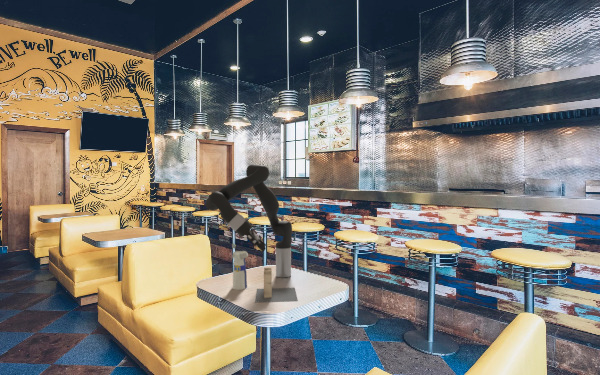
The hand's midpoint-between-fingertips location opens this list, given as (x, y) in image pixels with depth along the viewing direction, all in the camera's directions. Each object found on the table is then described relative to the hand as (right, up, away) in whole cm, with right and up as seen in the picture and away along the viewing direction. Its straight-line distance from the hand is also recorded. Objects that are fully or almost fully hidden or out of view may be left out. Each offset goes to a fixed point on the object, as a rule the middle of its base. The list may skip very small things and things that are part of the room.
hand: (264, 248), depth 159 cm
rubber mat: (+5, -25, +6) cm, 26 cm away
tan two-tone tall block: (+1, -24, +4) cm, 24 cm away
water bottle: (-15, -25, +18) cm, 34 cm away
